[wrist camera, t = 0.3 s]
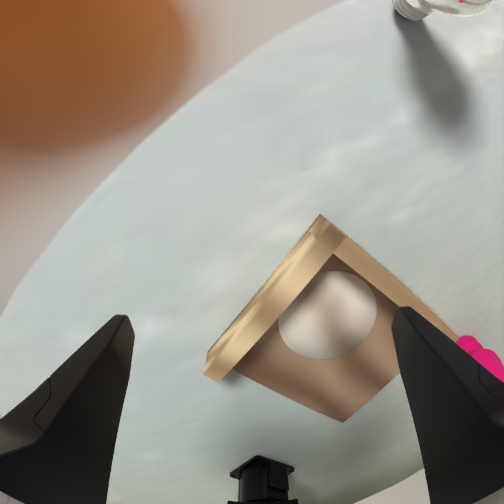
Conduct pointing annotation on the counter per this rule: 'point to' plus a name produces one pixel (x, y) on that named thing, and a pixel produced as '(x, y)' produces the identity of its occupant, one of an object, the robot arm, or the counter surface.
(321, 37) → the counter surface
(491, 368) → the pepper mill
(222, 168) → the counter surface
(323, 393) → the brown flat rimmed piece
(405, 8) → the light bulb
